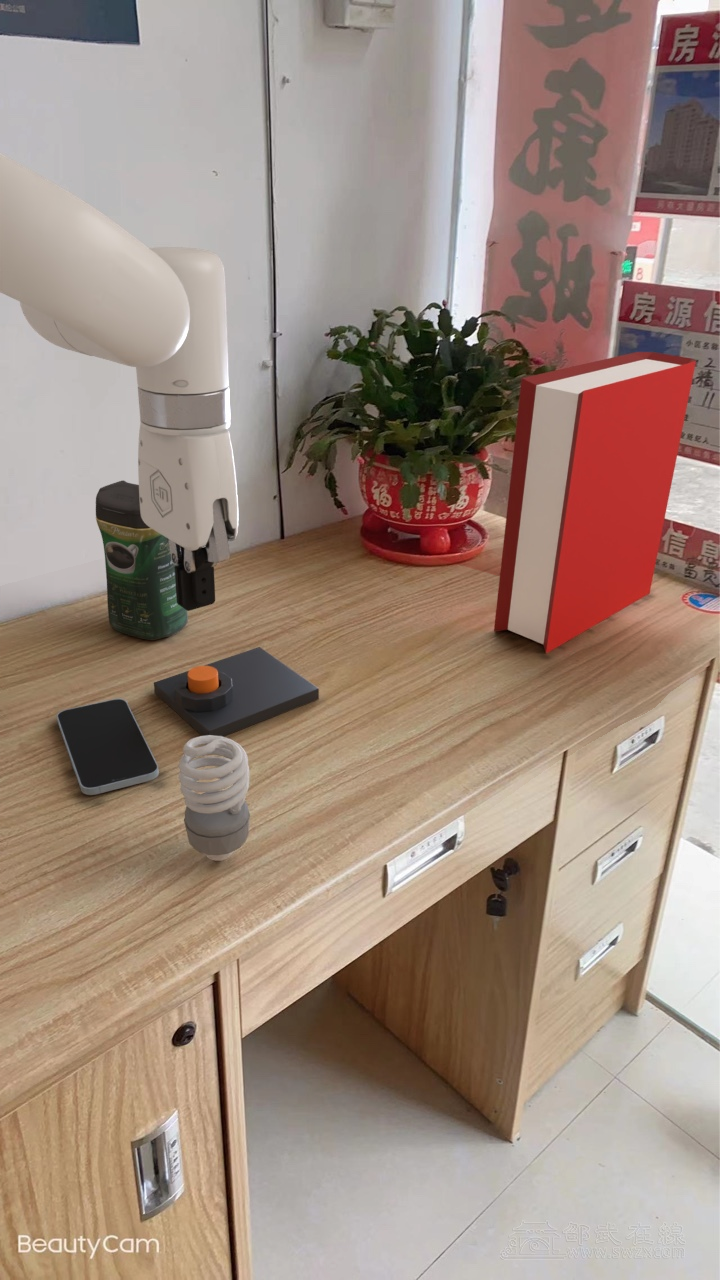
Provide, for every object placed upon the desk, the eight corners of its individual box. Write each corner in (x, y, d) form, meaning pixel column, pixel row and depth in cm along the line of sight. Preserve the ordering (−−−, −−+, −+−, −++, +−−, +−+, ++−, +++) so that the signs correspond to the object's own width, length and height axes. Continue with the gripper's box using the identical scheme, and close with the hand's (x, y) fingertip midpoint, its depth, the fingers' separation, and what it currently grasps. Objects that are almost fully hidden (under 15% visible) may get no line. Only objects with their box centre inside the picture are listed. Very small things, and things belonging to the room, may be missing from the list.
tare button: (198, 698, 93) (197, 683, 92) (183, 685, 95) (182, 671, 94) (224, 688, 95) (223, 674, 94) (209, 676, 97) (208, 662, 96)
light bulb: (257, 837, 78) (253, 724, 72) (247, 883, 73) (241, 765, 67) (194, 834, 78) (184, 720, 72) (179, 879, 73) (168, 761, 67)
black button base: (208, 742, 90) (207, 718, 89) (154, 693, 98) (151, 670, 97) (319, 699, 98) (319, 675, 97) (259, 656, 106) (259, 634, 105)
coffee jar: (198, 623, 114) (189, 484, 105) (157, 648, 108) (143, 503, 99) (141, 605, 118) (127, 470, 109) (98, 629, 112) (80, 487, 103)
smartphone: (124, 696, 96) (161, 771, 84) (125, 703, 96) (162, 779, 85) (54, 711, 93) (82, 791, 81) (55, 719, 93) (83, 799, 82)
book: (545, 653, 109) (583, 390, 94) (493, 631, 114) (521, 378, 99) (654, 590, 126) (701, 359, 111) (605, 573, 131) (643, 350, 116)
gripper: (103, 396, 77) (122, 587, 86) (191, 433, 67) (203, 645, 76) (179, 387, 82) (190, 569, 90) (272, 420, 72) (275, 622, 80)
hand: (196, 604), depth 83 cm, fingers closed
